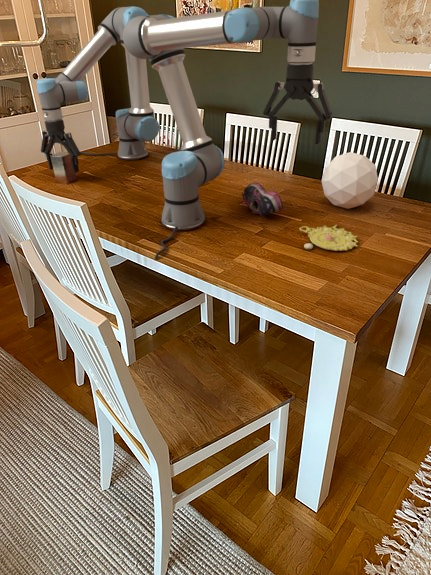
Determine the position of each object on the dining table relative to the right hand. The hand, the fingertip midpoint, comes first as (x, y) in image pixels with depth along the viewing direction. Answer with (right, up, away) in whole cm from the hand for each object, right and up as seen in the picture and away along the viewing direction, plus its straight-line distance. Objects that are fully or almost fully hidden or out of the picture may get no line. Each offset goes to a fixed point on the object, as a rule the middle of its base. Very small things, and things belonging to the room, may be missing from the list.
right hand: (295, 141), depth 134 cm
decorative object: (+12, -29, +8) cm, 32 cm away
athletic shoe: (-9, -16, +29) cm, 34 cm away
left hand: (-91, +7, +61) cm, 110 cm away
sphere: (+24, -14, +31) cm, 42 cm away
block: (-91, +3, +63) cm, 111 cm away
